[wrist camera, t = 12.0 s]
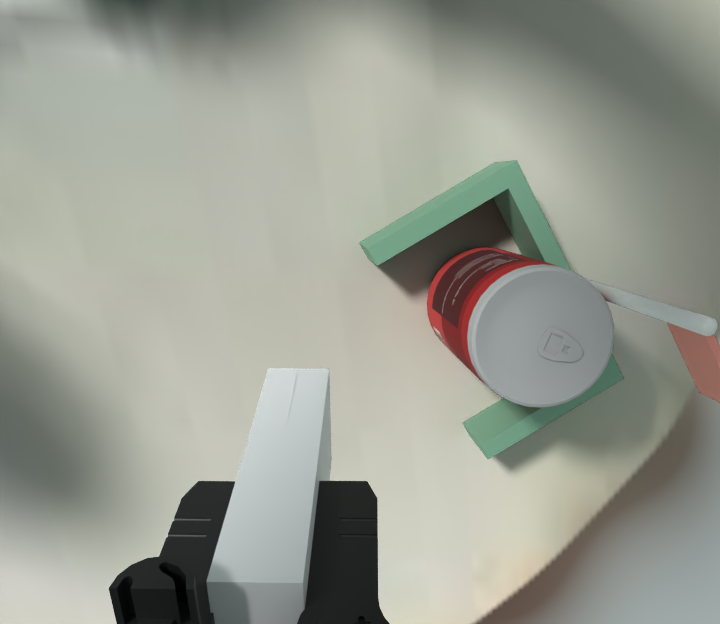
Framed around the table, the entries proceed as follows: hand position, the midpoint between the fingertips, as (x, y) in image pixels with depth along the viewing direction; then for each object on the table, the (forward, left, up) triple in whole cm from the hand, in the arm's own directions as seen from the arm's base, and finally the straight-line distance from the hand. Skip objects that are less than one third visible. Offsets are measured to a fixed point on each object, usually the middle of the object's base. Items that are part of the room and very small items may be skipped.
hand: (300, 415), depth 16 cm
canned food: (+8, +10, -27) cm, 30 cm away
